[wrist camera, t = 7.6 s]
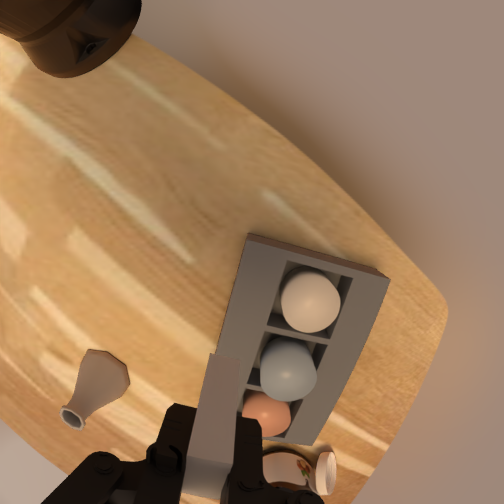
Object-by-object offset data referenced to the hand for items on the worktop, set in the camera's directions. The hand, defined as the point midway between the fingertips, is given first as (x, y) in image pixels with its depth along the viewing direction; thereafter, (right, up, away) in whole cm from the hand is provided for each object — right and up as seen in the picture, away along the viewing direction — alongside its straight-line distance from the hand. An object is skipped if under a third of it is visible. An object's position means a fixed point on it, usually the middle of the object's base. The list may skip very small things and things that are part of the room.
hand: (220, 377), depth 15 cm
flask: (-17, -9, +20) cm, 28 cm away
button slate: (+5, -5, +16) cm, 17 cm away
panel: (+5, -4, +18) cm, 19 cm away
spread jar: (+8, -24, +23) cm, 34 cm away
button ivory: (+7, +2, +16) cm, 18 cm away
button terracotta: (+3, -11, +19) cm, 22 cm away
